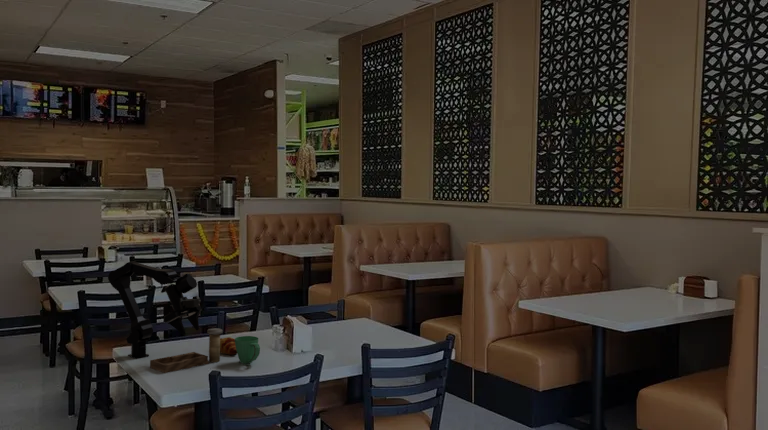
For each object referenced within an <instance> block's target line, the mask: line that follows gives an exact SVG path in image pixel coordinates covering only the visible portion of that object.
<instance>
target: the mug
mask: <svg viewBox="0 0 768 430" xmlns="http://www.w3.org/2000/svg"><path fill="white" fill-rule="evenodd" d="M234 339H235V345H236V350H237V357H238V360H239V363H240V364H245V365H246V364H251V363H253V362H255V361H256V360H257V359H258V357H259V355H260V353H261V352H260V351H261V347H260V344H259V337H257V336H253V335H242V336H238V337H235V338H234Z"/></svg>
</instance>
